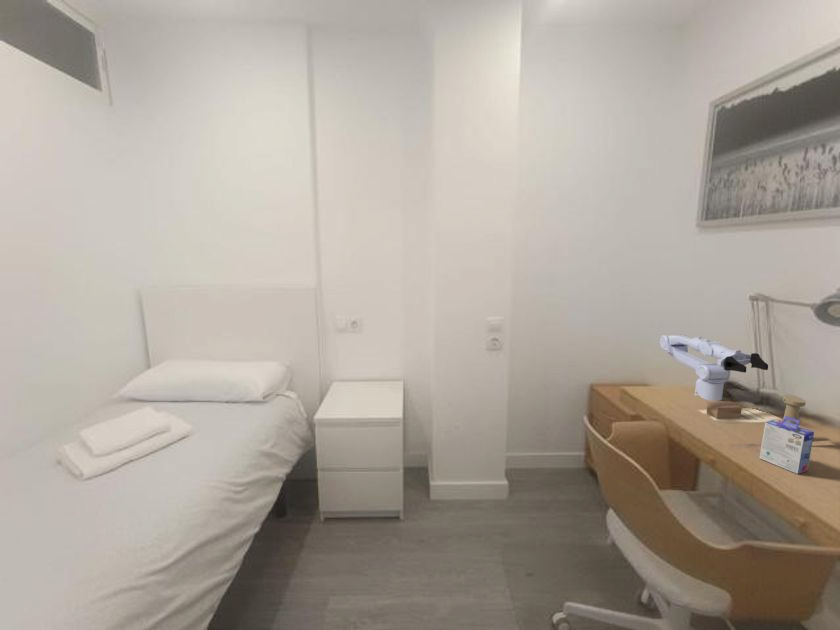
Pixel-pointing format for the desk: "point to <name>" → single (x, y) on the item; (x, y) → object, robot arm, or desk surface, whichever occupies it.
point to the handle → (793, 407)
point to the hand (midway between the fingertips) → (756, 368)
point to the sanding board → (747, 417)
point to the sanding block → (724, 410)
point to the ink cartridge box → (787, 445)
